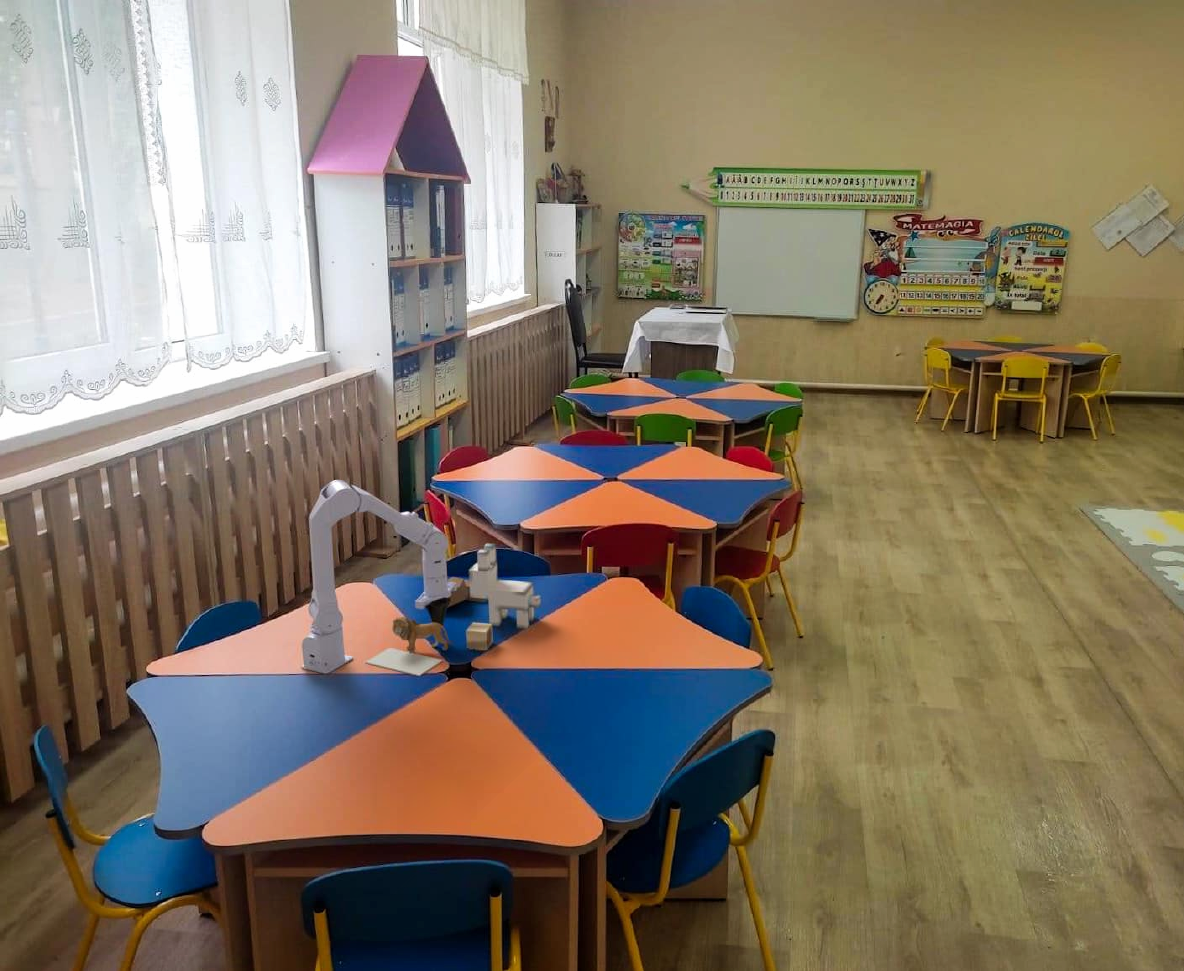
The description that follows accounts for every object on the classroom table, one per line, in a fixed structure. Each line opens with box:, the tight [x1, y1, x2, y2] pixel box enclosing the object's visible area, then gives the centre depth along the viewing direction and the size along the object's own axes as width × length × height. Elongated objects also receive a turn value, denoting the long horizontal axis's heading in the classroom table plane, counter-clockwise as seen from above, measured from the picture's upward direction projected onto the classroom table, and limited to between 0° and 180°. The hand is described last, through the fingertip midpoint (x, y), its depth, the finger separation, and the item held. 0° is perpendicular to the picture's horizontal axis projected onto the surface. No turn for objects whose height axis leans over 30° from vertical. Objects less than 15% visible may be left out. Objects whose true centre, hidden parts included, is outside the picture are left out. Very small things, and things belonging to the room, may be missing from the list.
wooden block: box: [447, 576, 486, 608], centre depth 269 cm, size 8×13×18 cm
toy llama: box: [468, 542, 541, 630], centre depth 253 cm, size 8×18×20 cm, turn 76°
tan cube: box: [465, 622, 494, 651], centre depth 241 cm, size 5×5×5 cm
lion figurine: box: [392, 616, 454, 653], centre depth 238 cm, size 15×5×9 cm, turn 107°
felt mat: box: [365, 647, 443, 677], centre depth 232 cm, size 9×16×1 cm, turn 62°
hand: (438, 626), depth 243 cm, fingers closed
